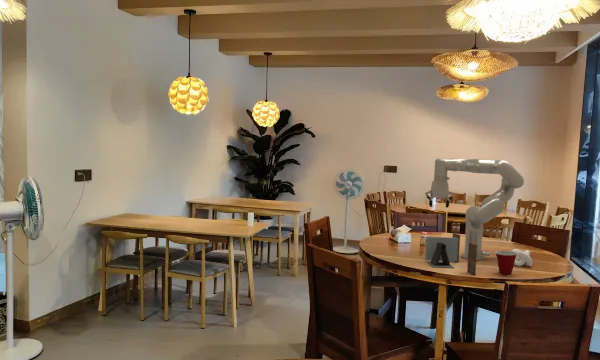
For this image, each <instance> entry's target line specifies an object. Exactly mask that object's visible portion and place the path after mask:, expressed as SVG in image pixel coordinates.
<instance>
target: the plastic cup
mask: <svg viewBox="0 0 600 360" xmlns="http://www.w3.org/2000/svg"><path fill="white" fill-rule="evenodd" d="M494 253H495V256H496V259H497V267H498V273H500V274H499V275H501V274H502V276H507V275H510V276H511V275H512V274H513V269H514V266H515V265H514V262H515V259H516V255H517V252H514V251H512V250H496V251H495V252H494Z"/></svg>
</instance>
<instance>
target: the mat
mask: <svg viewBox="0 0 600 360" xmlns="http://www.w3.org/2000/svg"><path fill="white" fill-rule="evenodd" d="M430 262H431V261H426V263H427V264H428V265H429V266H430V267H431V268H434V269H435V268H437V269H455V267H454V266H453V265H452V264H450V266H443V265H442V266H435V265H433V264H432V263H430Z"/></svg>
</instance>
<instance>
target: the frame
mask: <svg viewBox="0 0 600 360" xmlns="http://www.w3.org/2000/svg"><path fill="white" fill-rule="evenodd" d="M451 238H458V253H457V261H453V263H459V261H460V245H461V244H460V243H461V234H459V233H457V232H452V237H451ZM476 258H477V244H475V243H473V242H469V250H468V259H467V270H466V272H467V273H469V274H470V275H471V276H476V272H477V270H476V269H477V260H476Z"/></svg>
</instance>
